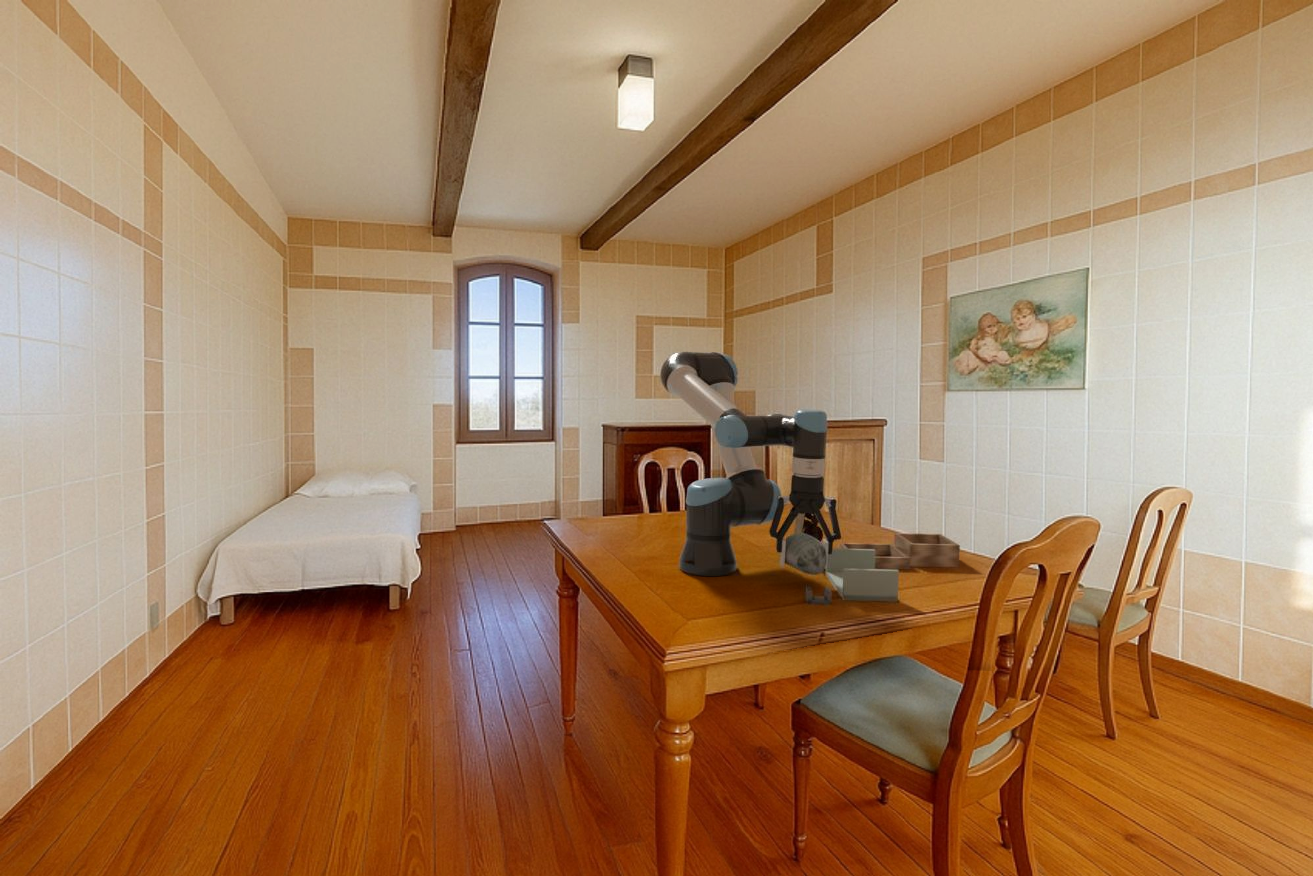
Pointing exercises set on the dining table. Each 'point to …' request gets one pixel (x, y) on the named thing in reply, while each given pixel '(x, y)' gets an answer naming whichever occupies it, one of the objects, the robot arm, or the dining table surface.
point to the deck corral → (893, 562)
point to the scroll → (808, 525)
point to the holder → (861, 576)
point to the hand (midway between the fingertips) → (803, 566)
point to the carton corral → (928, 549)
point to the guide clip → (818, 597)
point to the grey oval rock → (805, 553)
